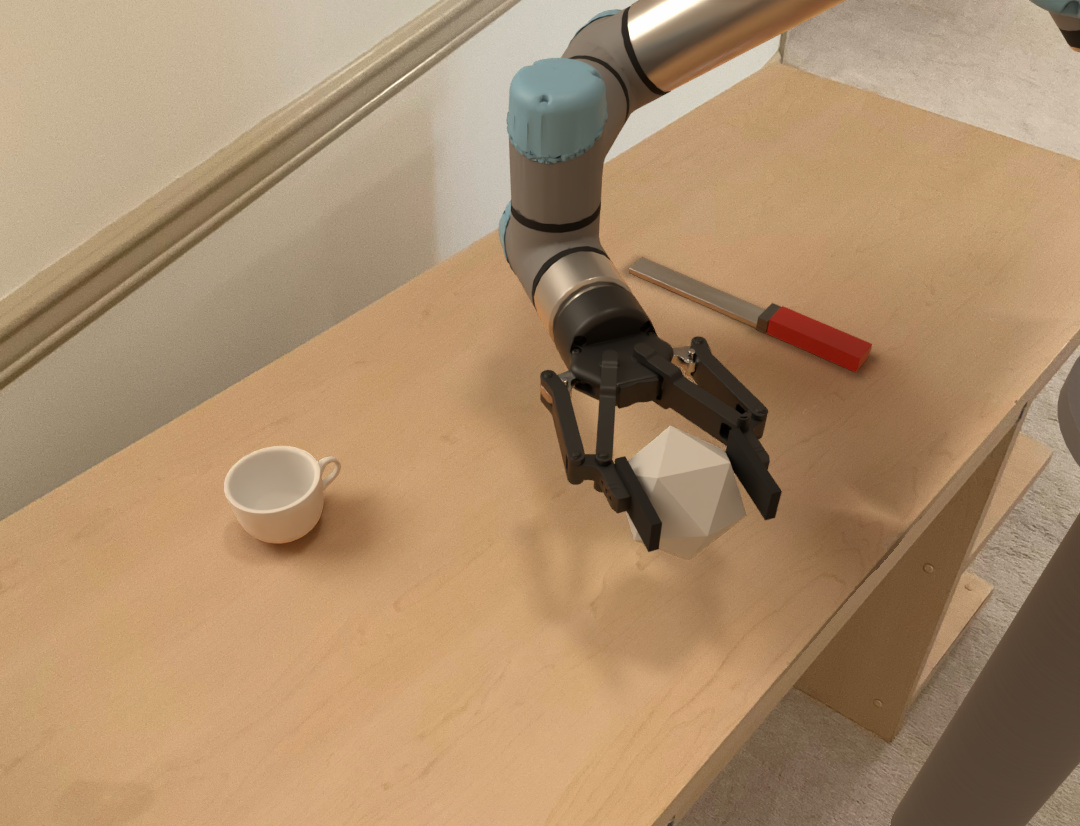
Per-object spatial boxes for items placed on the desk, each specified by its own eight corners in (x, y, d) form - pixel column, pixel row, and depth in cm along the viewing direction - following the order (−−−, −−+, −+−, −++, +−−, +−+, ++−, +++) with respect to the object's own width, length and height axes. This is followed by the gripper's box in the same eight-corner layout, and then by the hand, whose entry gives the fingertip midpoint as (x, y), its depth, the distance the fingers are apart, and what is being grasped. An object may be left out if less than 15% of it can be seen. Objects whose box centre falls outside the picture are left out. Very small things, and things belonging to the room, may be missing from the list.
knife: (868, 357, 101) (873, 343, 100) (855, 373, 100) (859, 358, 98) (642, 260, 112) (643, 246, 110) (627, 273, 110) (628, 259, 109)
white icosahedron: (760, 540, 76) (744, 407, 74) (733, 577, 68) (714, 431, 66) (651, 546, 80) (633, 420, 77) (614, 582, 72) (592, 443, 69)
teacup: (267, 571, 83) (253, 529, 79) (221, 517, 87) (206, 474, 83) (369, 514, 88) (361, 470, 83) (321, 464, 91) (311, 420, 87)
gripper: (706, 332, 87) (839, 520, 73) (473, 384, 83) (568, 595, 69) (718, 257, 81) (865, 446, 68) (468, 309, 77) (570, 522, 63)
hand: (715, 521), depth 68 cm, fingers closed on white icosahedron, 8 cm apart
